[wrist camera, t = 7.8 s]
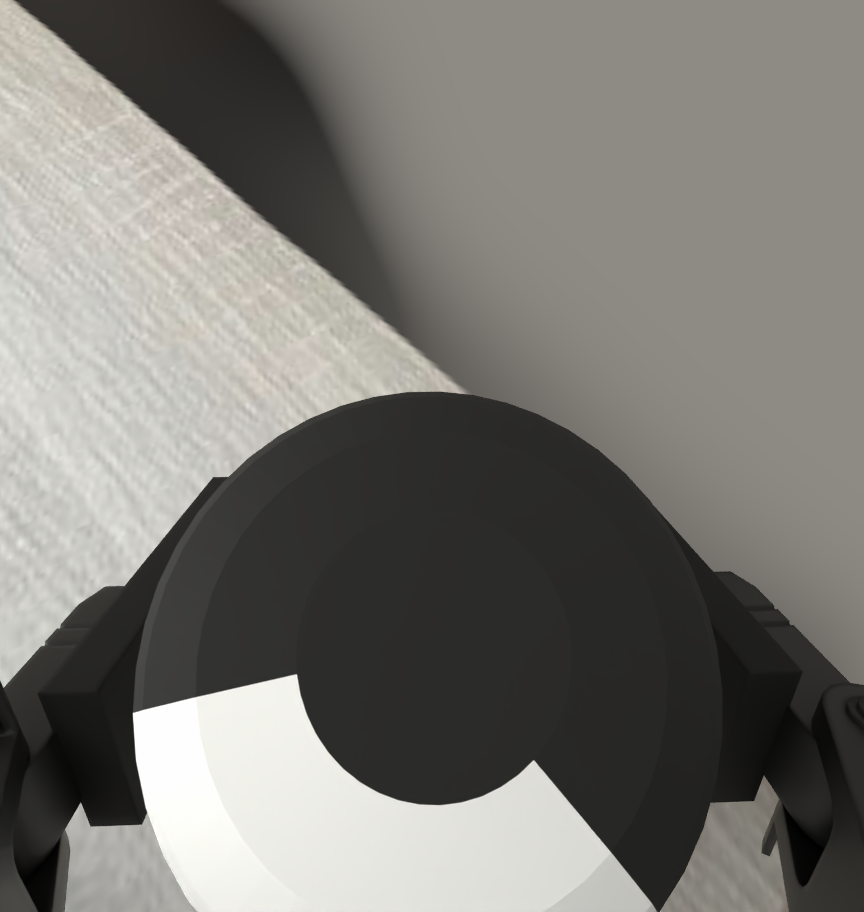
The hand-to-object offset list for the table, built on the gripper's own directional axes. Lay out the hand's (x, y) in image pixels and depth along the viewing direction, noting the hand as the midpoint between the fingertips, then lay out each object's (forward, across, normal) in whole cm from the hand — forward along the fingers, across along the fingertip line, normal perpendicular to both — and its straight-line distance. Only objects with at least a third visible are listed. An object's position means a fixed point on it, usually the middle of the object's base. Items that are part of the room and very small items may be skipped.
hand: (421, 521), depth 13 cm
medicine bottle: (+1, 0, -5) cm, 5 cm away
